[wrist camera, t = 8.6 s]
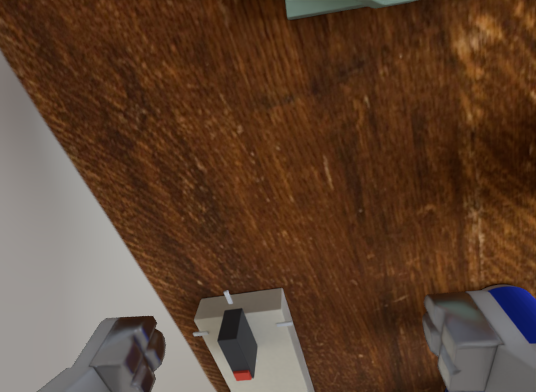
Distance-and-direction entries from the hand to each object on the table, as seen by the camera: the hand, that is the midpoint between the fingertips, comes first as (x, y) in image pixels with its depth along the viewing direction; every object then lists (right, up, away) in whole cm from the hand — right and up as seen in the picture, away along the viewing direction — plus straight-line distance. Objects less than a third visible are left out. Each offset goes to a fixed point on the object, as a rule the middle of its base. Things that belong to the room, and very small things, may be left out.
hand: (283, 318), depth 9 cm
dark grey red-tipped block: (-3, -8, +18) cm, 20 cm away
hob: (-1, -12, +23) cm, 26 cm away
